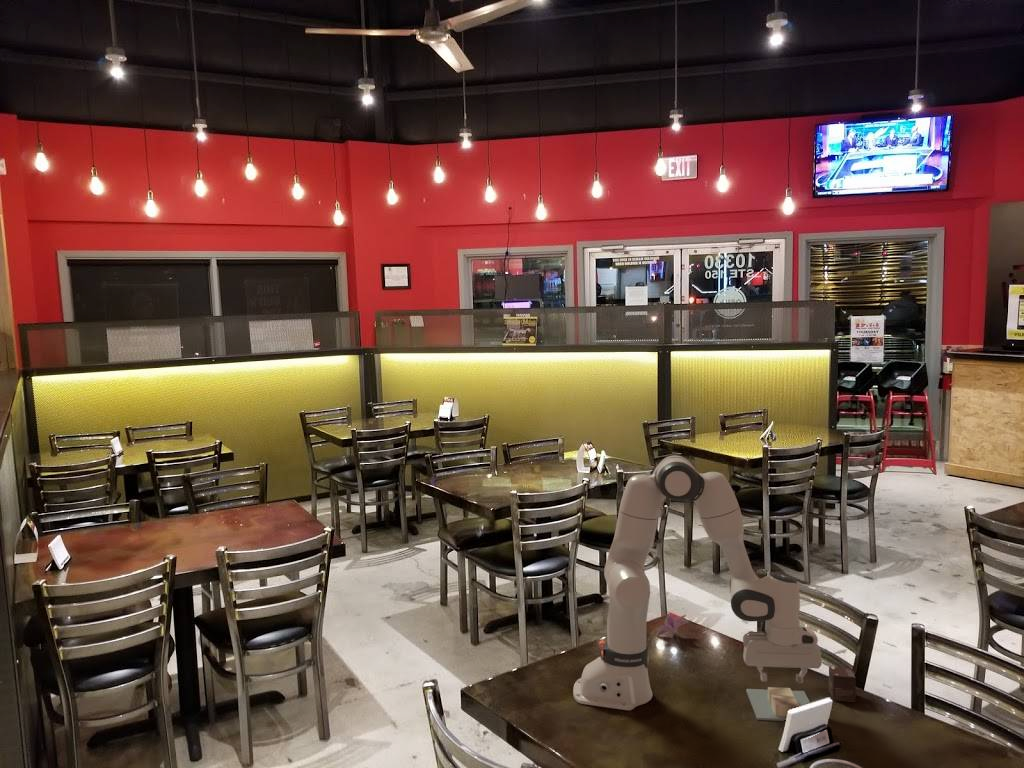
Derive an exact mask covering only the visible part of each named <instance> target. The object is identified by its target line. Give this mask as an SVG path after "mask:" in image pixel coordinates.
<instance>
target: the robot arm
mask: <svg viewBox="0 0 1024 768" xmlns="http://www.w3.org/2000/svg"><path fill="white" fill-rule="evenodd" d="M666 498H667V499H669V500H671V501H674V502H675V501H676V502H693V503H694V504H695V506H696V510H697V512H698V515H699V519H700V522H701V525H702V526H703V529H704V532H705V533H706V535H707V537H708V538H709V540H711V541H712V542H714V543H716V544H718V545H719V546H720V548H721V551H722V552H723V556H724V558H725V561H726V564H727V567H728V569H729V570H728V571H729V573H730V580H729V593H730V607H731V609H732V613H734V615H735V616H736V617H737V618H738V619H740V620H742V621H744V622H765V624H764V625H765V626H764V630H765V631H754V630H751V631H748V632H746V633H744V635H742V643H743V646H744V647H743V655H742V657H743V658H742V659H743V662H744V664H746V666H748V667H756V668H757V670H758V672H759V674H760V675H759V676H760V681H761V682H768V675H767V673H766V672H763V670H764V667H767V668H768V667H769V668H791V669H800V672H799V674H798V673H796V674H795V681H796V683H799V684H802V683H804V677H805V676H806V675H807V673H808V669H816V670H817V669H819V668H821V666H822V653H821V648H820V646H819V645H818V636H817V634H816V632H815V631H814V630H813V629H812V628H810V627H808V626H805V625H802V624H800V618H799V612H800V609H801V599H800V598H801V597H800V588H799V584H798V582H797V580H796V579H795V578H794V577H792V576H791V575H789V574H787V573H784V572H779V571H772V572H769V574H767V575H766V576H764V577H761V576H760V575H759V574H758V573H757V571H756V570H755V569H754V568H753V566H752V563H751V560H750V557H749V555H748V551H747V549H746V546H745V543H744V533H745V528H744V519H743V515H742V514H743V513H742V511H741V508H740V504H739V502H738V499H737V497H736V494H735V492H734V490H733V488H732V485H731V484H730V482H729V480H728V479H727V477H726V476H725V475H724V474H723V473H721V472H717V471H708V472H705V473H703V472H702V473H701V472H698V471H697V470H696V468H695V467H694V464H693V463H692V462H691V461H690V460H689V459H688V458H687V457H686V456H684V455H681V454H678V453H673V454H668V455H666V456H665V457H663V458H661V459H660V460H659V461H658V462H657V464H656V465H655V466H654V467H653V468H652V469H651V471H650V472H649V474H642V473H641V474H635V475H633V476H631V477H630V478H629V479H628V480H627V482H626V485H625V487H624V490H623V494H622V497H621V501H620V503H619V504H620V505H619V509H618V514H617V515H618V516H617V520H616V525H615V532H614V537H613V540H612V543H611V546H610V547H609V548H610V549H609V552H608V555H607V559H606V561H605V565H604V572H603V574H604V579H605V582H606V585H607V588H608V592H609V593H608V594H609V602H608V614H607V618H606V625H607V626H606V628H607V629H606V630H607V632H606V634H607V635H606V638H607V639H606V641H605V640H600V641H599V642H598V648H599V652H600V653H599V656H598V657H597V658H595V659H593V660H592V661H590V662H589V663H587V664H586V665H585V666H584V668H583V671H582V673H581V677H579V678H578V679H577V680H576V681H575V683H574V685H573V688H572V689H573V690H572V693H573V694H572V695H573V699H574V700H575V701H576V702H577V703H579V704H580V705H589V706H593V707H594V706H596V707H601V708H608V709H615V710H616V709H617V710H624V711H632V710H635V708H636V707H638V706H642V705H644V704H647V703H648V702H649V701H651V700H652V698H653V691H652V689H651V688H652V687H651V683H650V678H649V673H648V672H649V671H648V667H649V648H648V645H647V621H648V620H647V619H648V611H649V605H650V597H651V585H650V581H649V578H648V576H647V575H646V571H645V566H646V562H647V558H648V556H649V553H650V551H651V549H652V548H653V546H654V542H655V538H656V537H655V536H656V532H657V527H658V521H659V515H660V510H661V505H662V503H663V501H664V500H665V499H666Z"/></svg>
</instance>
